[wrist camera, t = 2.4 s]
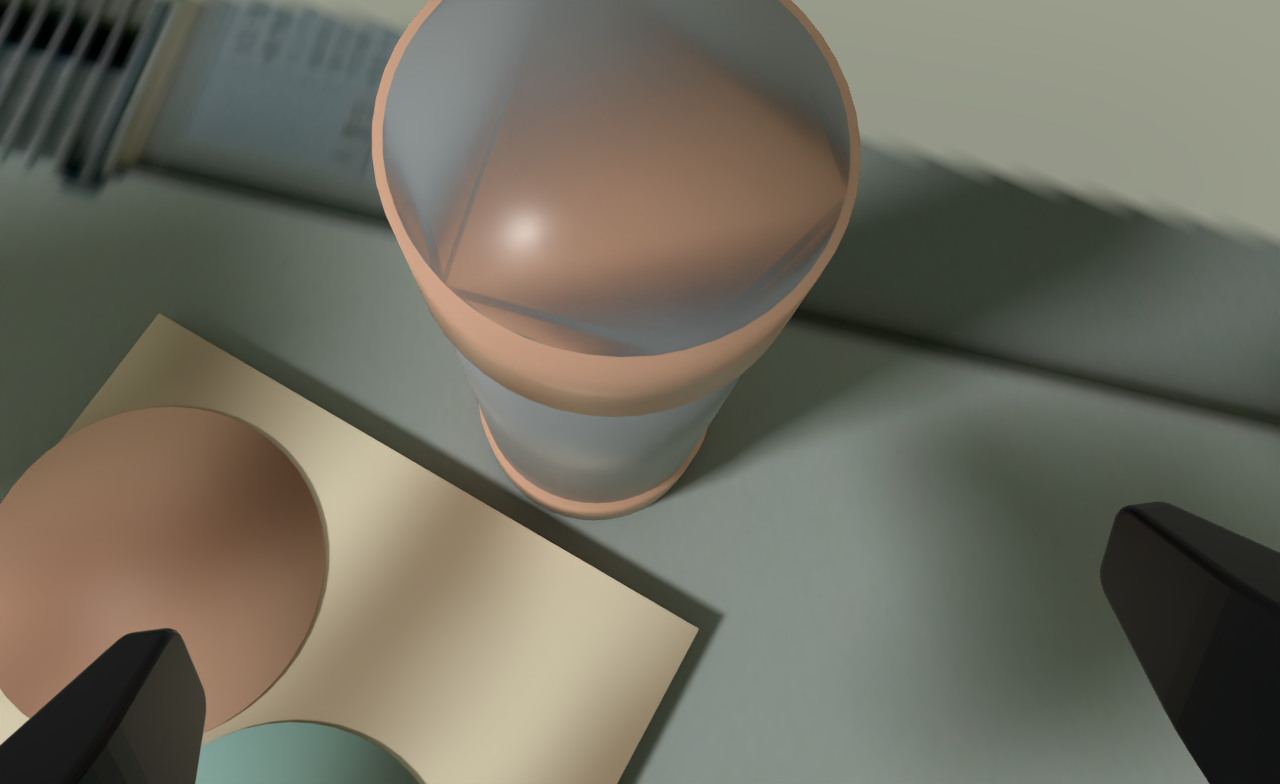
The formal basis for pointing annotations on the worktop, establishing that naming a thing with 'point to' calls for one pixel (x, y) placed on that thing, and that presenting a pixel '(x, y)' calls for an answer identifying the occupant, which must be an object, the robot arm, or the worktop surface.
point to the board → (316, 592)
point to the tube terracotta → (612, 217)
